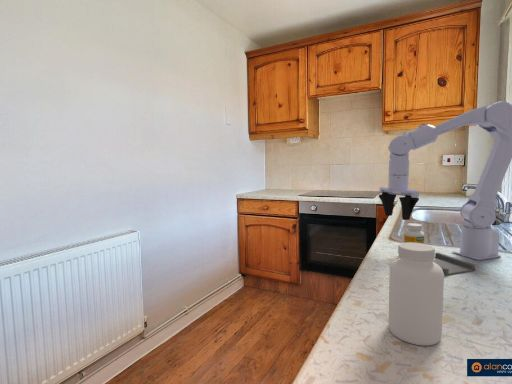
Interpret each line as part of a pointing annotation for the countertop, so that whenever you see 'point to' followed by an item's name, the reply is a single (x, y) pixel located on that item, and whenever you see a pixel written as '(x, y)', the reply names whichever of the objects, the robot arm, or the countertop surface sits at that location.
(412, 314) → the pill bottle
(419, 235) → the supplement bottle
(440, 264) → the stand
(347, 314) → the countertop surface
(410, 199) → the robot arm
